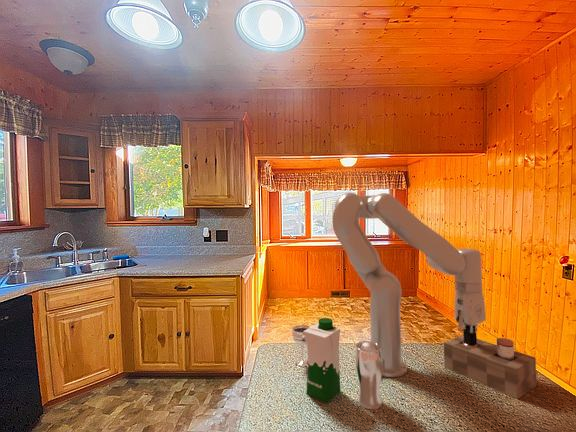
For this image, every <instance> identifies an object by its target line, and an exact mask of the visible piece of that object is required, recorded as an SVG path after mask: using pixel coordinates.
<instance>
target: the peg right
mask: <svg viewBox="0 0 576 432" xmlns="http://www.w3.org/2000/svg"><path fill="white" fill-rule="evenodd" d="M514 343H515V342H514V341H513V340H512V339H509V338H505V337H497V338H496V345H497V357H500V358H503V359H505V360H508V361H513V360H514V351H515V348H514V347H515V346H514V345H515V344H514Z"/></svg>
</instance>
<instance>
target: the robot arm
mask: <svg viewBox="0 0 576 432" xmlns="http://www.w3.org/2000/svg"><path fill="white" fill-rule="evenodd" d="M332 213H333V214H332V222H331V223H332V229H333V232H334V235H335V236H336V238H337V240H338V242H339V243H340V244H341V246H342V249H343V250H344V251H345V253H346V254H347V257H348V261H349V262H350V263H349V264H351V266H352V267H353V269H354V271H355V273H357V275H358V277H359V278H360V280H361V281H362V283H364V285H365V287H366V288H367V289H368V291H369V292H370V302H369V303H370V304H369V319H370V320H369V323H370V342H374V343H377V344H378V345H380V347H381V355H382V375H381V377H387V378H399V377H402V376H404V375H406V373H407V372H408V366H407V364H406V363H405V362H404V360H402V331H401V329H402V327H401V325H402V323H401V302H402V296H403V295H402V293H403V291H402V286H401V282H400V280H399V279H398V278H397V276H396V275H395V274H393V273H392V272H390V271H389V270H387V269H386V267H385V266H384V265H383V262H382V261H381V257H380V254H379V251H378V249H377V248H375V246H374V245H373V244H372V242H371V240H369V238H368V236H367V235H366V234H365V232H364V230H363V229H362V227H361V225H360V222H359V221H360V220H359V219H362V220H363V219H371V220H372V219H378V220H379V221H380V222H381V223H383V224H384V225H385V226H386V227H388V229H389V230H390V231H392V232H393V233H394V234H395V235H396V236H397V237H398V238H399V239H400V240H402V241H403V242H404V243H406V244H408V245H410V246H411V247H414V248H415V249H417V250H418V251H420V252H421V253H422V254H423V255H425V256H426V257H425V259H426V263H427V265H428V266H429V267H430V268H432V269H433V270H435V271H437V272H440V273H443V274H445V275H449V276H453V277H454V291H455V297H454V319H455V322H456V323H458V324H457V325H458V326H457V327H458V329H462V332H463V334H462V335H464V343H467V344H469V345H472V346H474V345H476V344H477V339H478V338H477V333H478V325H479V324H481V323H483V322H485V321H486V318H487V317H486V306H485V298H484V294H483V293H484V292H483V278H482V275H483V274H482V254H481V252H480V250H478V249H475V248H455V246H454V245H452V244H451V243H450V242H449V241H448V240H447V239H446V238H444V237H443V235H440V234H439V233H437V232H436V231H435V230H433V229H432V228H431V227H429V226H428V225H427V224H425V223H424V222H423V221H421V220H420V219H419V218H417V216H415V215H414V214H413V213H412V211H410V210H409V209H408V208H407V207H405V206H404V205H403V204H402V203H401V202H400V201H399V200H398V199H397V198H396V197H394V196H393V195H392V194H390V193H386V192H385V193H378V194H375V195H358V194H356V193H354V192H346V193H344V194H342V195H340V196H339V197H338V198H337V199H336V201H335V203H334V209H333V212H332Z"/></svg>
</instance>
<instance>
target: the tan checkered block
mask: <svg viewBox="0 0 576 432" xmlns="http://www.w3.org/2000/svg"><path fill="white" fill-rule="evenodd" d="M463 342H464V334H462V335H459V336H457V337H455V338H452V339H450V340H449V339H448V340H446V341H444V342H443V356H444V357H443V359H444V360H443V362H444V363H443V364H444V368H446V369H448V370H451V371H452V372H455V373H457V374H459V375H461V376H464V377H466V378H468V379H470V380H473V381H475V382H477V383H479V384H482V385H484V386H486V387H489V388H490V389H493V390H495V391H497V392H500V393H502V394H504V395H506V396H508V397H511V398H514V399H516V400H518V399H520V398H522V396H524V395H526V394H527V393H528V392H530V391H531V390H533V388H535V387H536V386H537V367H536V366H537V364H536V363H537V361H536V358H537V357H534V356H531V355H528V354H525V353H523V352H519V351H516V350H514V360H513V361H508V360H505V359H503V358H500V357H497V344H495V343H491V342H489V341H487V340H482V339H480V338H477V347H475V348H472V347H469V346H466V345H463Z"/></svg>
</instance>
